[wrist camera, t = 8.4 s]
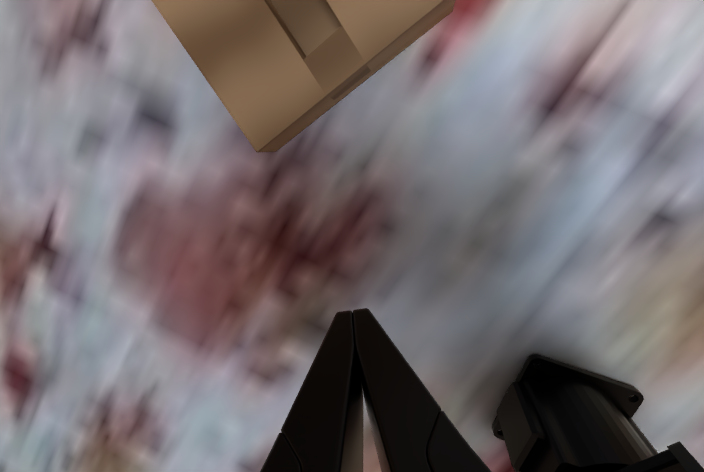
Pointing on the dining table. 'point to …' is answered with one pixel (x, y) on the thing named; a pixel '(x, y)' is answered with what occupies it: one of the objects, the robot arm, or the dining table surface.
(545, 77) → the dining table surface
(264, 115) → the wooden slotted board
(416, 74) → the dining table surface
